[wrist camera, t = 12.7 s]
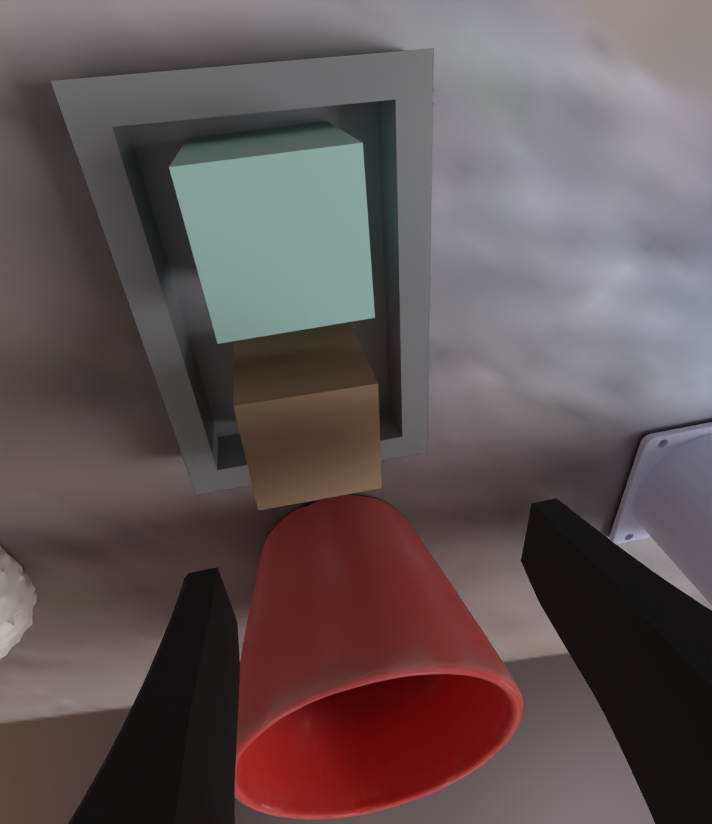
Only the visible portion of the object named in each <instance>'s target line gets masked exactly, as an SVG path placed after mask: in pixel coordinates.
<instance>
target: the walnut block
mask: <svg viewBox="0 0 712 824" xmlns="http://www.w3.org/2000/svg"><path fill="white" fill-rule="evenodd" d="M233 407H234V411H235V416H236V420H237V424H238V428H239V432H240V436H241V441H242V445H243V449H244V453H245V457H246V462H247V466H248V470H249V474H250V478H251V483H252V487H253V491H254V495H255V499H256V503H257V508H258V511H259V510H265V509H270V508H276V507H281V506H287V505H292V504H298V503H303V502H309V501H314V500H320V499H325V498H331V497H336V496H342V495H347V494H353V493H358V492H363V491H369V490H374V489H380V488H382V476H381V449H380V421H379V393H378V382H377V380H376V378H375V376H374V373H373V371H372V369H371V367H370V364H369V362H368V360H367V358H366V356H365V353H364V351H363V349H362V347H361V345H360V342H359V340H358V338H357V336H356V333H355V331H354V329H353V327H352V325H351V322H346V323H340V324H334V325H328V326H322V327H316V328H310V329H304V330H298V331H292V332H286V333H280V334H274V335H268V336H262V337H256V338H250V339H244V340H238V341H233Z"/></svg>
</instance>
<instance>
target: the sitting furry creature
mask: <svg viewBox="0 0 712 824" xmlns="http://www.w3.org/2000/svg"><path fill="white" fill-rule="evenodd" d="M34 591H35V588H34V587H33V584H32V582H31V579H30V577H29V575H27V574H25V573H24V572H23V568H22V566H21V565H20V564H19V563H18V562H17V561H16V560H15V559H14V558H12V557H11V556H10V555H9V554H7V552H6V551H5V549H2V547H1V545H0V659H1V658H2V657H4V656H5V655H7V654H8V652H9V650H10V649H11V647H13V646H14V645H16V644H17V643H19V642H20V641H21V638H22V635H23V633H24V632H25V631H26V630H27V629H28V628H29V627H30V626H31V625H32V624H33V620H32V617H33V612H32V610H33V607H34V605H35V604H36V600H37V594H36V593H35V592H34Z"/></svg>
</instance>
